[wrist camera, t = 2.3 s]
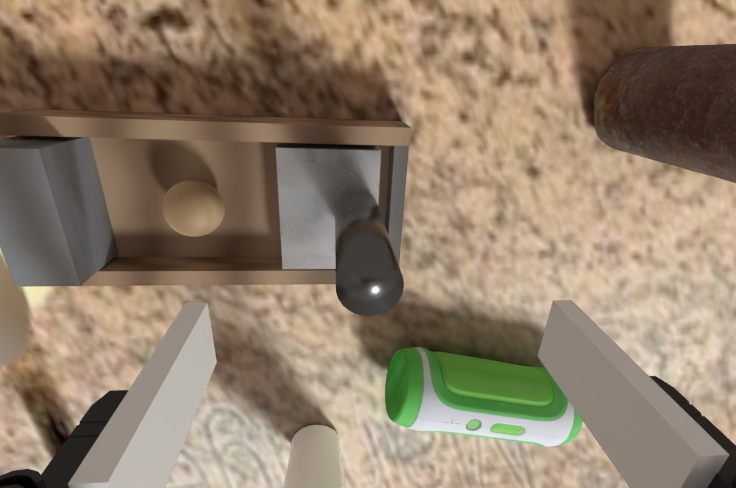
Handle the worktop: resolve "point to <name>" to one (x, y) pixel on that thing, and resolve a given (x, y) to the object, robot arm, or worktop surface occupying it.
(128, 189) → the base
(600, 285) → the worktop surface
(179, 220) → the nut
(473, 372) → the speaker
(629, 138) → the candle
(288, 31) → the worktop surface
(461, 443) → the worktop surface
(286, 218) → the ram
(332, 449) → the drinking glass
